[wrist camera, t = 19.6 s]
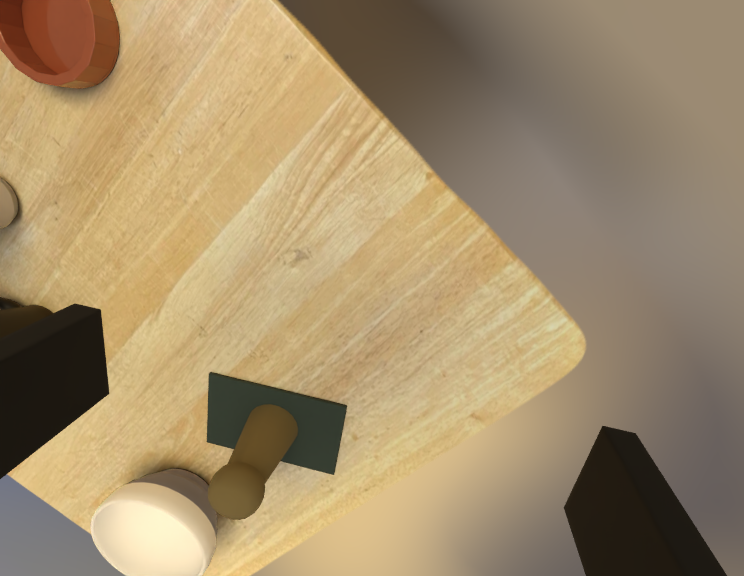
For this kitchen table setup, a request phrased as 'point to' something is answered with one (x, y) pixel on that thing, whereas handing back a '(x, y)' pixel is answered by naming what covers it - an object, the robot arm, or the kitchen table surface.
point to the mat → (312, 415)
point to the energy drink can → (7, 204)
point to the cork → (252, 462)
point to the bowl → (157, 526)
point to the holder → (60, 40)
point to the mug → (18, 316)
